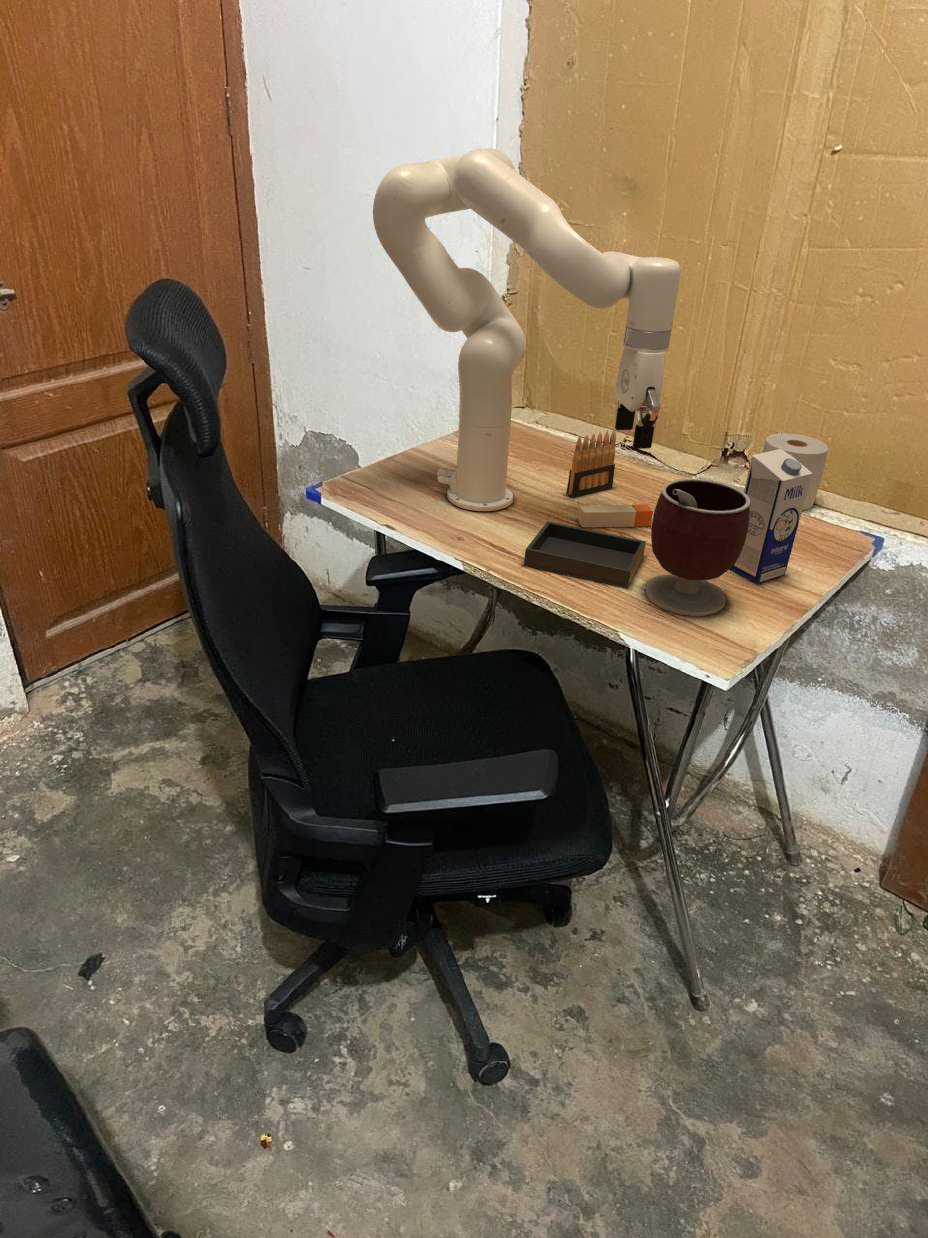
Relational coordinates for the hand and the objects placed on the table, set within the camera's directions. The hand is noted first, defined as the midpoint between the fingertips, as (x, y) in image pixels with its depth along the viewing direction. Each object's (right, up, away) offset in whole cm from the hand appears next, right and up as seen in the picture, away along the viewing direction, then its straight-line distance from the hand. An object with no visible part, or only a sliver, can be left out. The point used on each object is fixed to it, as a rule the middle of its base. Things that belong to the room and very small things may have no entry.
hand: (632, 438), depth 152 cm
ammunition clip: (-5, -7, +20) cm, 22 cm away
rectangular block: (-2, -14, +7) cm, 16 cm away
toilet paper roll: (+34, -8, +22) cm, 41 cm away
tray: (-9, -22, -7) cm, 25 cm away
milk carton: (+19, -24, -7) cm, 31 cm away
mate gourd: (+5, -29, -16) cm, 33 cm away
